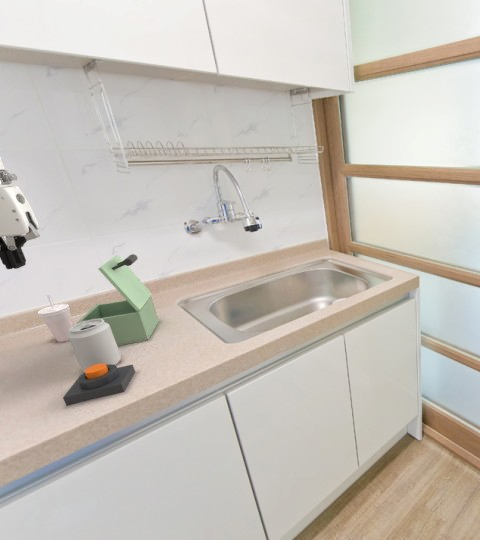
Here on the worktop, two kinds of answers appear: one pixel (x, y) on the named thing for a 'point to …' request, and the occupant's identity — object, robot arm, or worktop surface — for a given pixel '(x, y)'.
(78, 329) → the can
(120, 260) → the lid
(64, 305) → the smoothie
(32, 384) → the worktop surface
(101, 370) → the button
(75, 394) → the control block
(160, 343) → the worktop surface
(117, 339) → the green hinged box
